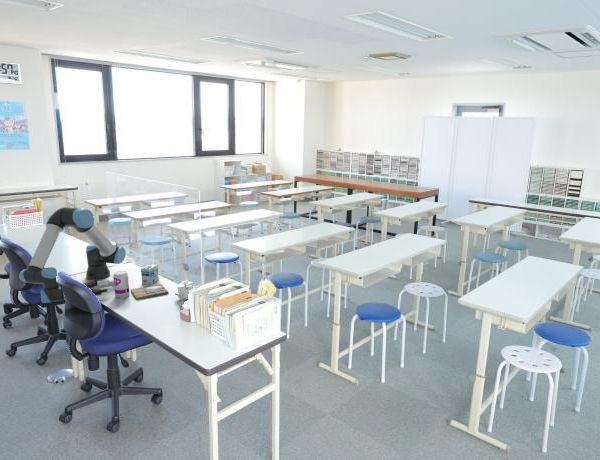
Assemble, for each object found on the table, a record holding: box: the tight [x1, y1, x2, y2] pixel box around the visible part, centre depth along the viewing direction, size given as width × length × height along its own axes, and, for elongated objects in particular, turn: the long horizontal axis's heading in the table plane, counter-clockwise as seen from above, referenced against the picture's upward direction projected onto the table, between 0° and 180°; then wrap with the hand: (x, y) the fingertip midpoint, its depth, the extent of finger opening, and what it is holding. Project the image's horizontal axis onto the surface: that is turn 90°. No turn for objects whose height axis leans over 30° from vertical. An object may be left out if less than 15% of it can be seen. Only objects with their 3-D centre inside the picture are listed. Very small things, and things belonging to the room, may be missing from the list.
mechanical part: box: [174, 279, 196, 302], centre depth 268 cm, size 11×12×12 cm
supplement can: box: [112, 270, 131, 299], centre depth 273 cm, size 8×8×15 cm
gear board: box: [130, 283, 169, 301], centre depth 280 cm, size 16×19×2 cm
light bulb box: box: [140, 263, 160, 286], centre depth 298 cm, size 11×7×11 cm, turn 168°
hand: (110, 285), depth 269 cm, fingers open, 13 cm apart
